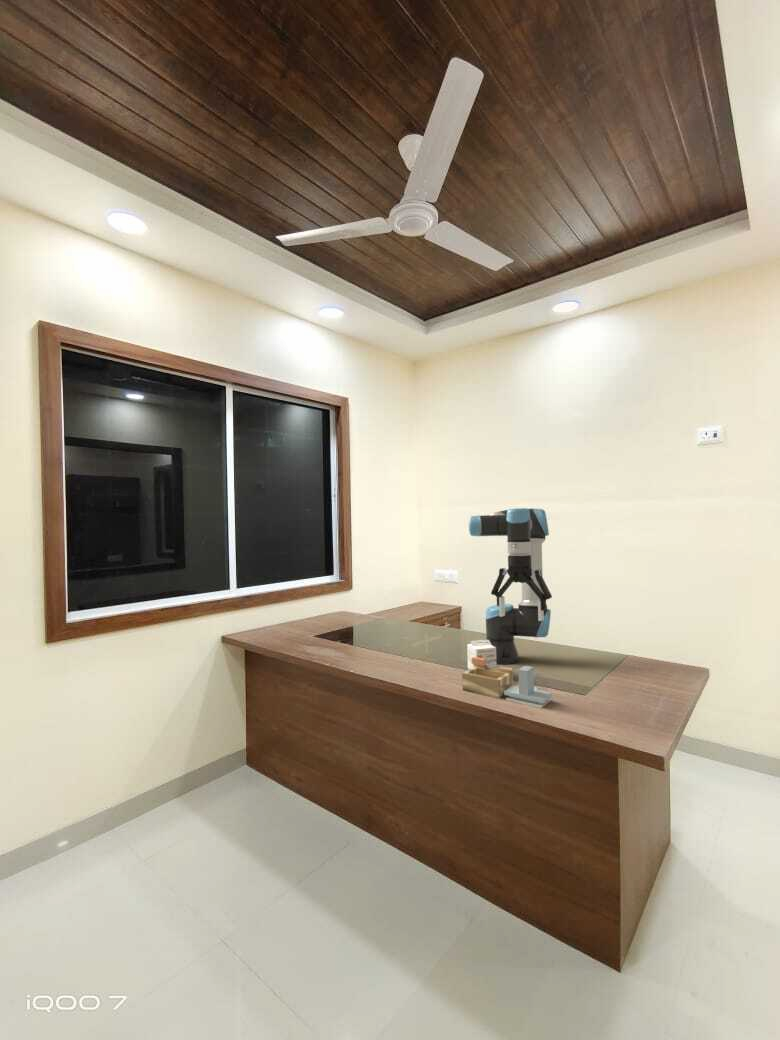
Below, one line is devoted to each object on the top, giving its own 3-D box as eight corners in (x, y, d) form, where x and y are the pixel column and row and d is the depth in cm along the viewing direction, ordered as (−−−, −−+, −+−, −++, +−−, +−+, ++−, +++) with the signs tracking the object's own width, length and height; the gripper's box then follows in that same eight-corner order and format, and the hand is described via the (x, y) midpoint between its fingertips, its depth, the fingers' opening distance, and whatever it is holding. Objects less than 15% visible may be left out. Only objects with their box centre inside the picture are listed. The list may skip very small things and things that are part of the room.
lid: (515, 689, 166) (515, 660, 166) (554, 697, 158) (553, 666, 158) (504, 697, 159) (503, 666, 159) (543, 706, 150) (542, 674, 150)
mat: (516, 693, 164) (516, 691, 164) (550, 700, 157) (550, 698, 157) (506, 700, 158) (506, 698, 158) (541, 708, 151) (541, 706, 151)
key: (474, 662, 177) (473, 656, 177) (486, 664, 173) (486, 658, 173) (471, 663, 175) (471, 657, 175) (483, 665, 172) (483, 660, 172)
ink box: (476, 680, 179) (475, 644, 179) (467, 673, 187) (466, 639, 187) (497, 678, 181) (496, 642, 181) (487, 671, 189) (486, 637, 189)
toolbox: (477, 681, 177) (477, 662, 177) (513, 689, 168) (512, 668, 168) (462, 690, 169) (462, 669, 169) (499, 698, 160) (498, 676, 160)
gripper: (480, 554, 164) (482, 616, 164) (552, 556, 148) (554, 624, 148) (490, 552, 170) (492, 612, 170) (560, 554, 154) (562, 620, 154)
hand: (521, 618), depth 159 cm, fingers open, 13 cm apart
